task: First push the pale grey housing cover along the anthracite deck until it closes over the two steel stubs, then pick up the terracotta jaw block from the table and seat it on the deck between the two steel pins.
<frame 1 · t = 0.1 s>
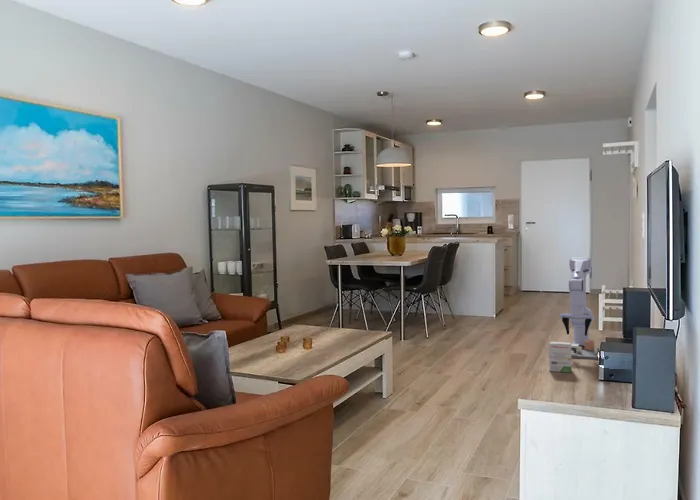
hand: (576, 334, 267), 10 cm above the table, fingers open, 7 cm apart
ink box: (560, 371, 243), on the table
housing cover: (572, 347, 273), point 3 cm above the table, slide at 0.0 cm
jaw block: (589, 351, 277), on the table
deck: (581, 354, 269), on the table
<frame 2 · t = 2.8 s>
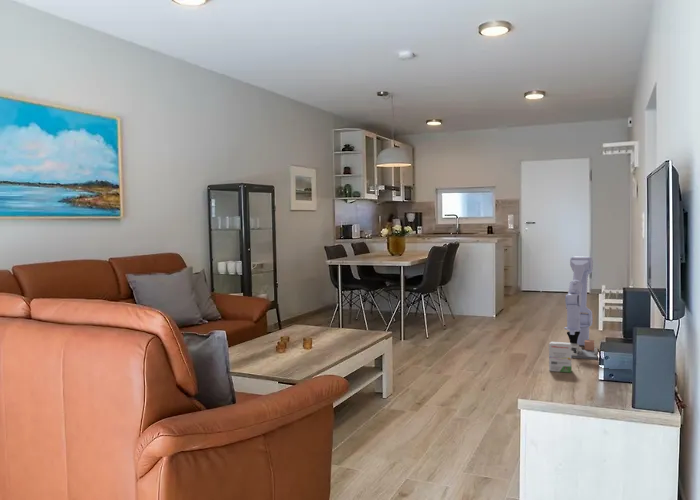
hand: (573, 347, 277), 2 cm above the table, fingers closed
housing cover: (572, 347, 273), point 3 cm above the table, slide at 0.2 cm, touching gripper
everything else where it was.
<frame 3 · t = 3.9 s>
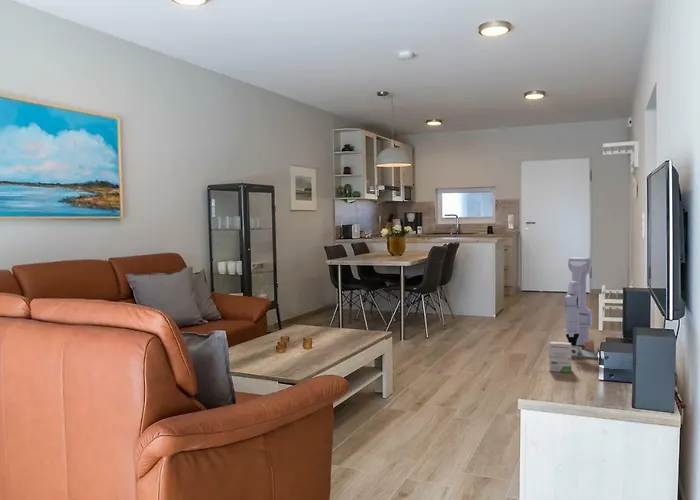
hand: (572, 349, 272), 2 cm above the table, fingers closed
housing cover: (571, 350, 268), point 3 cm above the table, slide at 5.1 cm, touching gripper
everything else where it was.
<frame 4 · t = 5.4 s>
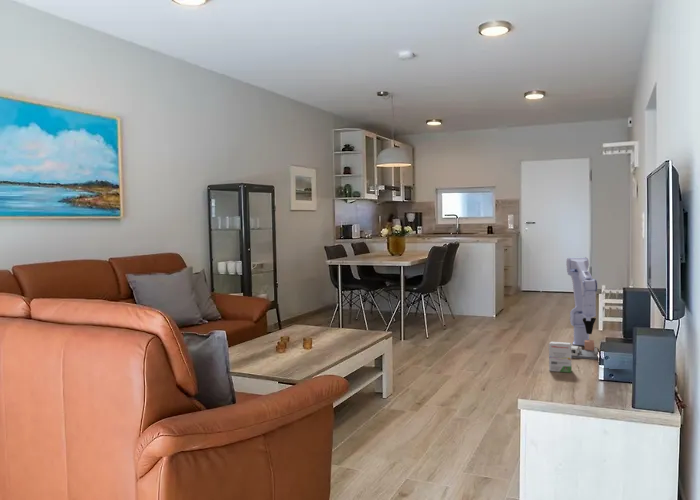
hand: (589, 333, 276), 8 cm above the table, fingers closed
housing cover: (571, 350, 268), point 3 cm above the table, slide at 5.0 cm
everything else where it was.
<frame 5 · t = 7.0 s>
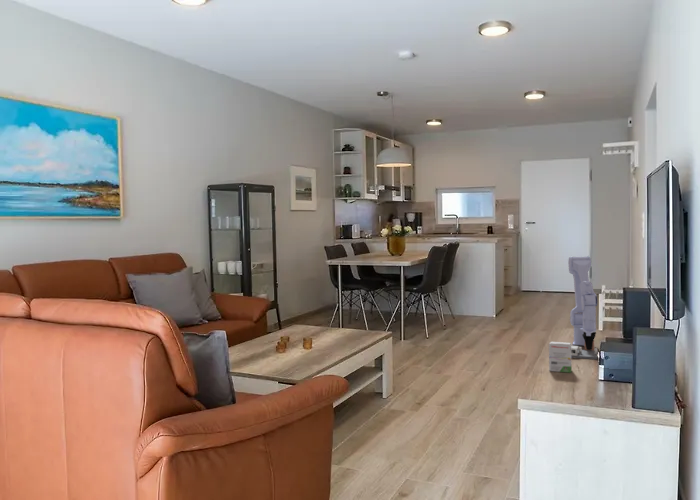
hand: (589, 348, 276), 1 cm above the table, fingers open, 4 cm apart
jaw block: (589, 351, 277), on the table, touching gripper
everything else where it was.
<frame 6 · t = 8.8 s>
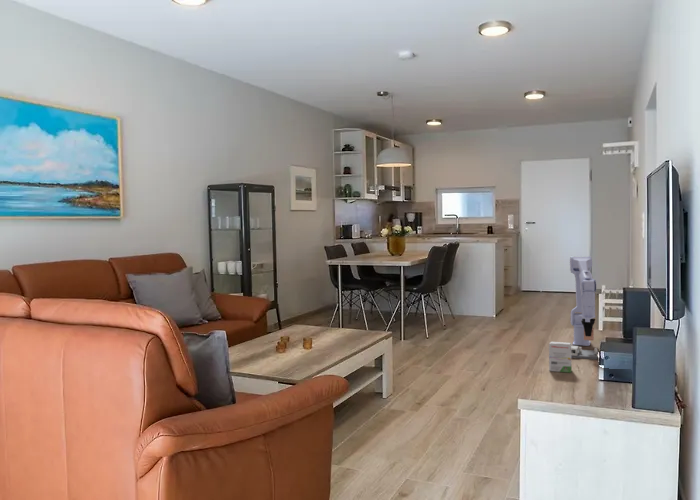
hand: (588, 335, 269), 9 cm above the table, fingers closed on jaw block, 4 cm apart
jaw block: (588, 339, 269), point 7 cm above the table, touching gripper
everything else where it was.
when the fingers open (3 cm above the table, at t = 10.5 s): jaw block stays where it is, resting on deck.
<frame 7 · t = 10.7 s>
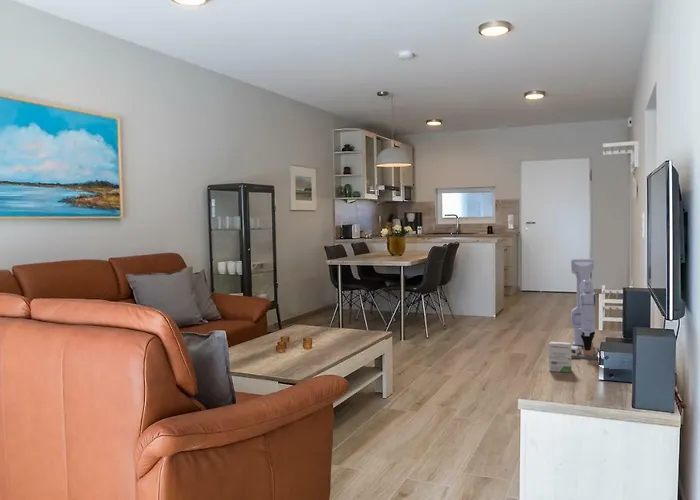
hand: (588, 348, 266), 3 cm above the table, fingers open, 5 cm apart
jaw block: (588, 354, 267), point 1 cm above the table, touching deck
everything else where it was.
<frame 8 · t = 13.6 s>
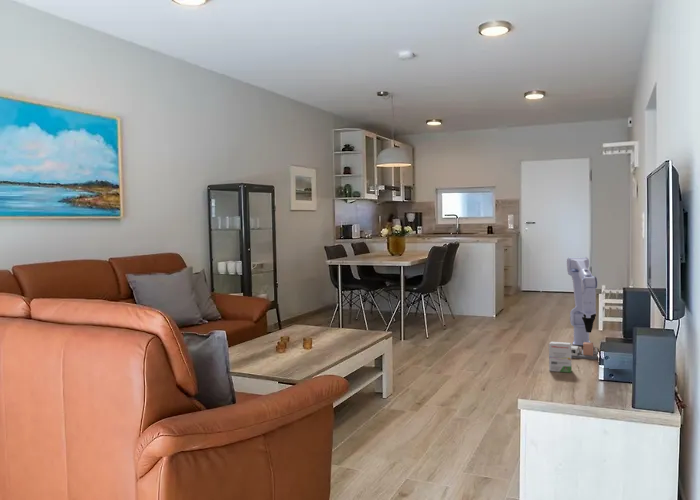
hand: (589, 330, 275), 10 cm above the table, fingers open, 7 cm apart
nothing on the table moved.
at the end: housing cover slide at 5.0 cm; jaw block 0.1 cm from the target spot, point 1.0 cm above the table; jaw block tilted 0° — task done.
